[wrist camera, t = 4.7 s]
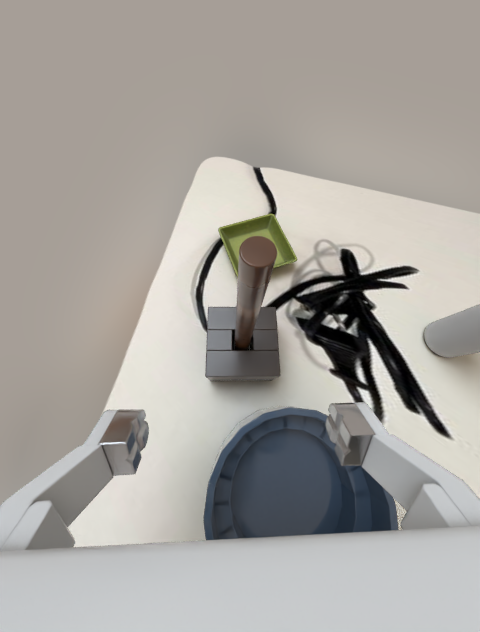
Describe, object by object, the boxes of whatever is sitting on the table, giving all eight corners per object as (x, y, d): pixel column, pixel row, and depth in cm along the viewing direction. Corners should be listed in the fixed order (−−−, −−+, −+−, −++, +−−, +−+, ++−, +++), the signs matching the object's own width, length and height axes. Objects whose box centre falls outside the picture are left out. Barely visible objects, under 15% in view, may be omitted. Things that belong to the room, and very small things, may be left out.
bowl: (335, 620, 20) (375, 707, 14) (183, 533, 22) (167, 580, 16) (372, 443, 25) (413, 456, 19) (247, 383, 27) (251, 379, 21)
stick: (244, 358, 28) (269, 272, 9) (232, 352, 28) (232, 258, 9) (249, 346, 28) (283, 243, 10) (237, 341, 28) (248, 229, 10)
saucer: (237, 286, 31) (237, 278, 29) (217, 237, 34) (217, 227, 32) (294, 268, 32) (298, 260, 30) (271, 222, 35) (273, 212, 33)
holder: (272, 380, 27) (280, 376, 22) (209, 380, 27) (205, 376, 22) (268, 321, 30) (275, 307, 25) (212, 321, 29) (208, 306, 25)
